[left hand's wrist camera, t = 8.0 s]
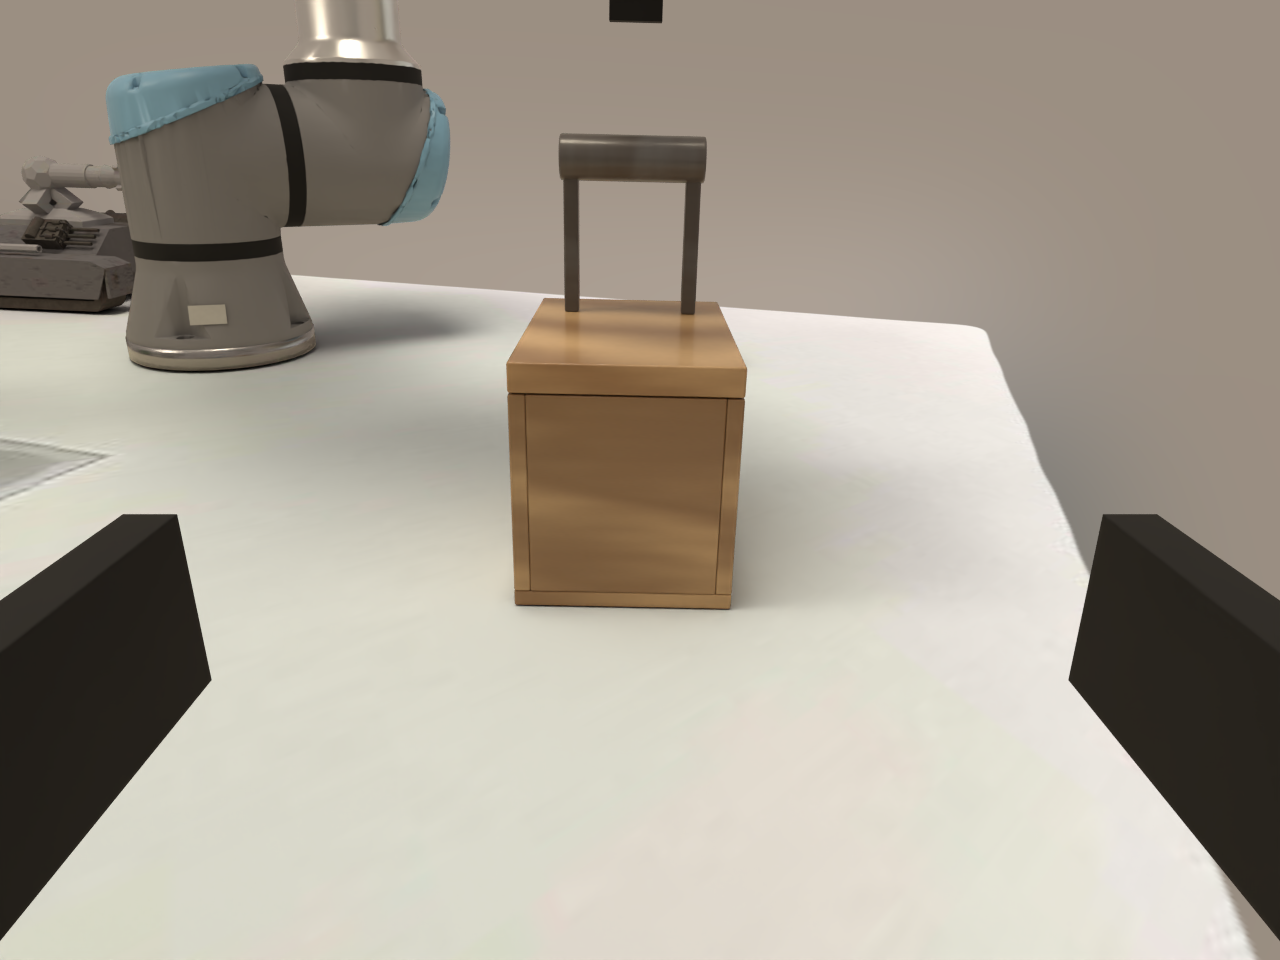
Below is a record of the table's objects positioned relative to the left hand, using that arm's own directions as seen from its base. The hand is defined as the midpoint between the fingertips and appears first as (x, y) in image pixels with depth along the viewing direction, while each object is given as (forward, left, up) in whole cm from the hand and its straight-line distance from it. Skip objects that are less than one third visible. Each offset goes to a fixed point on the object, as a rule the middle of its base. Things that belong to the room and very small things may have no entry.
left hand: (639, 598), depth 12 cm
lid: (+28, +8, -3) cm, 29 cm away
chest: (+27, +8, -13) cm, 31 cm away
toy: (+71, +87, -13) cm, 113 cm away
